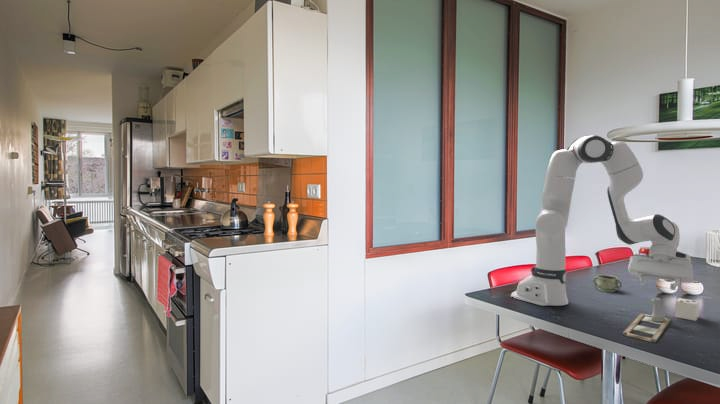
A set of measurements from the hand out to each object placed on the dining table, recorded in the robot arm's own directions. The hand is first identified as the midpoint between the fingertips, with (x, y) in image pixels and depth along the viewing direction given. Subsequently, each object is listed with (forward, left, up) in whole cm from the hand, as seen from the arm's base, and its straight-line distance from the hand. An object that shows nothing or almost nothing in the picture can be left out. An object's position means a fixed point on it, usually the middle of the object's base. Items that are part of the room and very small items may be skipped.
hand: (657, 286), depth 154 cm
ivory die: (+8, +8, -11) cm, 16 cm away
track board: (0, -16, -11) cm, 20 cm away
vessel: (-24, +30, -12) cm, 40 cm away
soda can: (-17, +78, -12) cm, 80 cm away
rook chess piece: (+2, -6, -11) cm, 13 cm away
